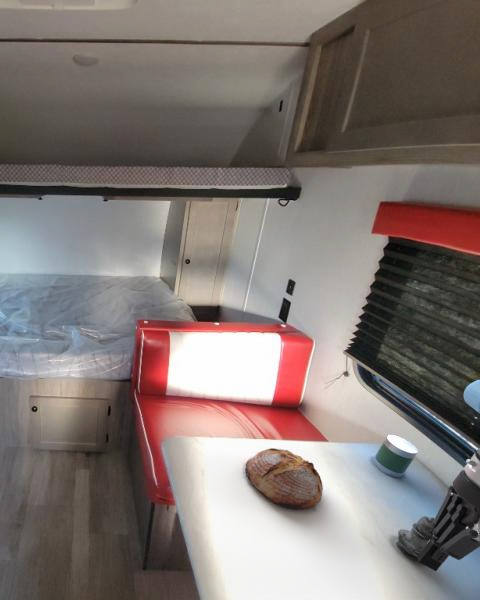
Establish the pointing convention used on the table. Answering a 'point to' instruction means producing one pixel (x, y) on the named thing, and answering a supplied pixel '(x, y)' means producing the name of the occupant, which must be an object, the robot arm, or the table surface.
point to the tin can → (395, 456)
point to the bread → (285, 478)
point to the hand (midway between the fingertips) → (426, 563)
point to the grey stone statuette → (415, 538)
